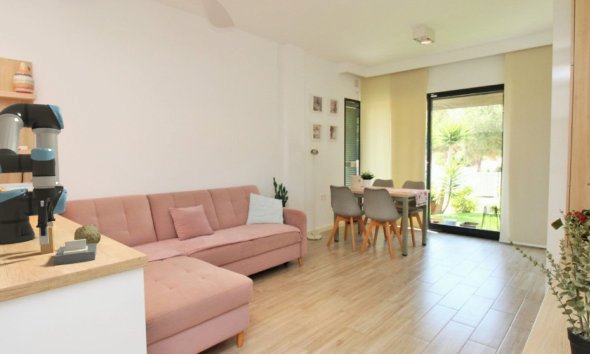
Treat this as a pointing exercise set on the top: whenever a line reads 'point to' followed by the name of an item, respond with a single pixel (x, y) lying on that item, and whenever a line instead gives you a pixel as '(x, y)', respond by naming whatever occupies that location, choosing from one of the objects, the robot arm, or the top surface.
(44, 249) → the tall wooden block
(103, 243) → the top surface
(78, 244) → the white stepped block
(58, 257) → the socket board
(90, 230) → the coral
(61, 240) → the top surface
